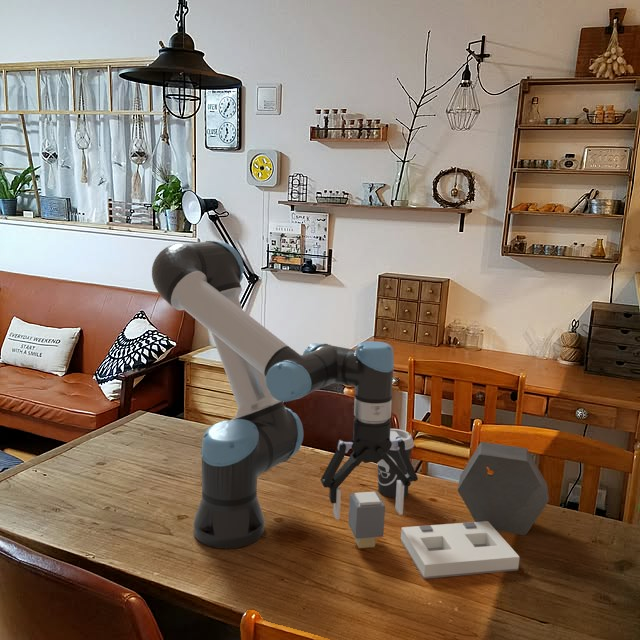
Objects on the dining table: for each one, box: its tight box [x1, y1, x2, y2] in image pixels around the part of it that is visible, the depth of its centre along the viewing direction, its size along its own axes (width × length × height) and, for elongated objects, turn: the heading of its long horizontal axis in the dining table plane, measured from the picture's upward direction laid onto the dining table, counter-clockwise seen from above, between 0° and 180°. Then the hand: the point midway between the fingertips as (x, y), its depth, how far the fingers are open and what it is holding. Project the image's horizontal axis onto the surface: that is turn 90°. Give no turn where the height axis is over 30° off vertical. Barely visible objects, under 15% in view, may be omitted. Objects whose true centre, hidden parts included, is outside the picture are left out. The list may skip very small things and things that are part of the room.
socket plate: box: [400, 521, 520, 580], centre depth 133 cm, size 20×14×3 cm
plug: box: [347, 491, 386, 549], centre depth 135 cm, size 6×6×11 cm
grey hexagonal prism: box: [457, 441, 550, 536], centre depth 145 cm, size 17×8×21 cm
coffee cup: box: [377, 428, 415, 498], centre depth 159 cm, size 10×10×15 cm
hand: (368, 514), depth 135 cm, fingers open, 13 cm apart
